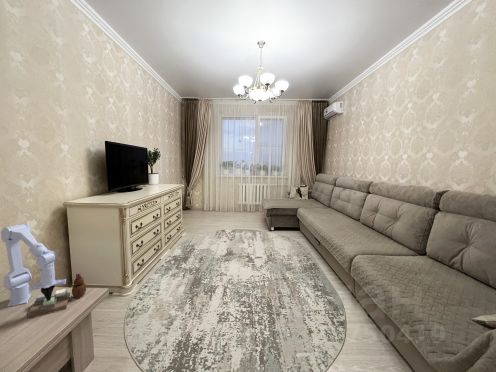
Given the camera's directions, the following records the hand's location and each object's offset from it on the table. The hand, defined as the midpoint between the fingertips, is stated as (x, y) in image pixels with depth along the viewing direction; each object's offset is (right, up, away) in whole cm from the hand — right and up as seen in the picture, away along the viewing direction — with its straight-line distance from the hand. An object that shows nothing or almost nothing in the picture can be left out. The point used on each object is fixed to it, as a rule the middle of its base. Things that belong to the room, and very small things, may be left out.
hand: (48, 299), depth 118 cm
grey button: (-7, -2, +4) cm, 8 cm away
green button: (0, -2, 0) cm, 2 cm away
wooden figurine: (+6, -5, +13) cm, 15 cm away
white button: (-1, -2, +8) cm, 8 cm away
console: (-2, -5, +3) cm, 7 cm away
